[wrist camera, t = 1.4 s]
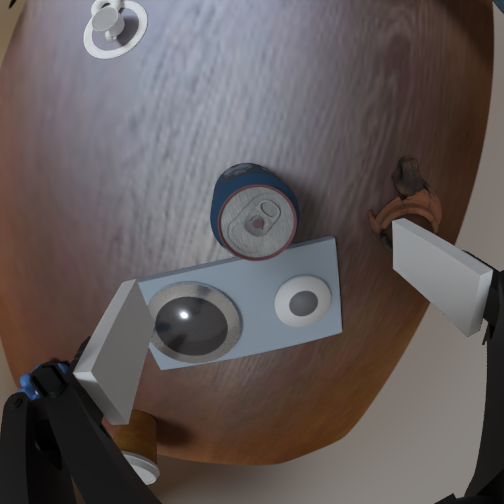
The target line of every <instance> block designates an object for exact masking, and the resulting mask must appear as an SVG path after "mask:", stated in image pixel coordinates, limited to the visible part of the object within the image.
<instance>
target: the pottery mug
mask: <svg viewBox="0 0 504 504" xmlns="http://www.w3.org/2000/svg"><path fill="white" fill-rule="evenodd" d="M392 178H393V179H394V180H395V184H396V188H397V190H398V191H399V192H400V193H401V194H402V195H404V196H408V197H407V198H406V199H405V200H402V199H401V198H400V197H397V198H395V199H394V200H393V201H391V202H390V203H389V204H387V205H386V206H385V208H384V209H383V210H381V211H380V213H379V214H378V215H377V217H376V218H375V217H374V215H373V213H372V211H371V210H369V211H368V218H369V222H370V225H371V227H372V231H373V233H374V234H375V235H376V236H377V237H378V239H379V240H380V242H381V243H382V245H383V246H384V247H385V249H386V250H388V251H389V252H390V253H393V244H392V243H391V242H390V241H389V240H388V239H387V237H386V234H385V233H384V232H383V229H387V227H388V226H389V224H390V223H391V222H392V221H393V220H394V219H396V218H397V217H399V216H402V215H405V214H408V213H409V214H418V215H421V216H423V217H425V218H426V219H428V220H429V222H430V223H431V226H432V233H433V234H434V235H436V236H438V225H439V223H440V222H441V219H442V208H441V204H440V200H439V198H438V196H437V194H436V193H435V191H434V190H433V189H432V188H431V187H430V186H429V185H428V183H427V182H425V181H424V180H423V179H422V178H421V175H420V171H419V166H418V161H417V159H416V158H414V157H412V156H410V155H405V156H403V157H402V158H401V159H400V160H399V163H398V168H397V170H396V172H394V173H393V174H392Z"/></svg>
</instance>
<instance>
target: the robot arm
mask: <svg viewBox="0 0 504 504" xmlns="http://www.w3.org/2000/svg"><path fill="white" fill-rule="evenodd" d="M492 1H493V2H494V3H495V4H496V6H497V7H498V8H499V9H500V10H501V12H502V13H504V0H492ZM392 228H393V269H394V270H395V271H396V272H398V273H399V274H400V275H401V276H402V277H403V278H404V279H406V280H407V281H408V282H409V283H410V284H411V285H412V286H413V287H415V288H416V289H417V290H418V291H419V292H420V293H421V294H422V295H423V296H425V297H426V298H427V299H428V300H429V301H430V302H431V303H432V304H433V305H434V306H436V308H438V309H439V310H440V311H441V312H442V313H443V314H444V315H445V316H446V317H447V318H448V319H449V320H450V321H451V322H452V323H453V324H454V325H455V326H456V327H457V328H458V329H460V330H461V332H462V333H464V334H465V335H466V336H467V337H469V336H471V335H473V334H474V333H476V332H478V331H480V328H481V324H482V321H483V318H484V319H485V320H487V321H488V326H487V329H486V333H485V336H484V339H483V343H482V345H484V344H485V341H487V385H486V402H485V412H484V413H485V414H484V421H483V430H482V437H481V443H480V449H479V455H478V460H477V465H476V469H475V473H474V476H473V478H472V480H471V482H470V484H469V486H468V488H467V490H466V492H465V495H464V497H461V498H457V499H456V497H455V495H454V494H451V495H449V496H447V497H446V498H444V499H442V500H440V501H438V502H437V503H435V504H504V270H503V271H501V272H499V271H498V270H496V269H495V268H493V267H492V266H490V265H488V264H487V263H485V262H484V261H481V260H480V259H479V258H477V257H475V256H474V255H472V254H471V253H469V252H467V251H464V250H461V249H459V248H457V247H455V246H453V245H452V244H450V243H448V242H447V241H445V240H443V239H441V238H440V237H438V236H436V235H434V234H433V233H431V232H429V231H427V230H425V229H423V228H422V227H420V226H418V225H416V224H414V223H412V222H410V221H409V220H407V219H405V218H402V219H398V220H394V221H392ZM154 326H155V324H154V321H153V319H152V317H151V314H150V312H149V309H148V307H147V305H146V302H145V300H144V297H143V295H142V292H141V290H140V287H139V285H138V282H137V280H136V279H134V280H130V281H125V282H123V283H122V284H121V286H120V288H119V289H118V291H117V293H116V294H115V296H114V298H113V299H112V301H111V303H110V305H109V306H108V308H107V310H106V312H105V313H104V315H103V317H102V319H101V320H100V322H99V324H98V326H97V328H96V329H95V331H94V333H93V335H92V336H89V337H88V338H87V339H86V340H85V341H84V342H83V343H82V344H81V346H80V348H79V350H78V351H77V354H76V355H75V357H74V360H73V361H72V363H71V364H70V366H69V368H68V370H67V372H66V374H64V373H63V371H62V370H61V368H60V367H59V365H58V364H57V363H56V362H53V361H50V362H46V363H43V364H41V365H40V366H38V367H37V368H36V369H35V370H34V371H33V372H32V374H31V376H30V381H29V382H30V383H31V385H32V386H33V387H34V389H35V390H36V391H37V393H38V394H39V395H40V397H41V398H38V399H35V400H31V399H30V398H29V397H28V395H27V394H26V393H25V392H17V393H15V394H12V395H11V397H9V398H8V400H7V401H6V403H5V405H4V409H3V416H2V424H1V433H0V504H77V503H76V498H75V494H74V489H73V484H72V480H71V476H72V478H73V480H74V482H75V484H76V486H77V488H78V490H79V492H80V494H81V496H82V498H83V500H84V501H85V503H86V504H162V503H161V502H160V501H159V500H158V499H157V498H156V496H155V495H154V494H153V493H152V492H151V490H150V489H149V488H148V487H147V485H146V484H145V483H144V482H143V480H142V479H141V478H140V477H139V475H138V474H137V473H136V471H135V470H134V469H133V467H132V466H131V465H130V463H129V462H128V461H127V459H126V458H125V457H124V455H123V454H122V452H121V451H120V449H119V448H118V446H117V445H116V444H115V442H114V441H113V439H112V437H111V436H110V434H109V433H108V431H107V430H106V428H105V427H104V426H103V425H102V423H101V422H102V418H103V415H104V416H105V418H106V419H107V420H108V421H109V423H110V424H111V425H123V424H129V419H130V415H131V411H132V407H133V403H134V399H135V395H136V391H137V387H138V383H139V379H140V376H141V372H142V368H143V364H144V361H145V357H146V354H147V350H148V347H149V343H150V340H151V336H152V333H153V330H154Z"/></svg>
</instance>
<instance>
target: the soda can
mask: <svg viewBox="0 0 504 504" xmlns="http://www.w3.org/2000/svg"><path fill="white" fill-rule="evenodd" d="M210 221H211V227H212V231H213V233H214V236H215V238H216V239H217V241H218V242H219V243H220V245H221V246H222V247H223V248H224V249H225V250H227V251H228V252H230V253H231V254H233V255H235V256H237V257H240V258H242V259H245V260H249V261H263V260H268V259H271V258H273V257H276V256H277V255H279V254H280V253H282V252H283V251H284V250H285V249H286V248H287V247H288V246H289V244H290V243H291V241H292V240H293V238H294V235H295V233H296V231H297V228H298V224H299V207H298V203H297V200H296V198H295V196H294V194H293V192H292V191H291V190H290V188H289V187H288V186H287V185H286V184H285V183H283V182H282V181H281V180H280V179H278V178H277V177H276V176H274V175H273V174H272V173H271V172H269V171H268V170H267V169H265V168H264V167H262V166H259V165H257V164H252V163H242V164H238V165H235V166H232V167H230V168H229V169H227V170H226V171H225V172H224V173H223V174H222V175H221V176H220V177H219V179H218V181H217V183H216V185H215V188H214V194H213V200H212V207H211V213H210Z"/></svg>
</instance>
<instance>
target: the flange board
mask: <svg viewBox="0 0 504 504" xmlns="http://www.w3.org/2000/svg"><path fill="white" fill-rule="evenodd" d="M136 280H137V282H138V285H139V287H140V290H141V292H142V295H143V297H144V300H145V302H146V305H147V306H148V303H149V301H150V300H151V298H152V297H153V296H154V294H155V293H156V292H158V291H159V290H160V289H162V288H163V287H165V286H167V285H170V284H172V283H176V282H182V281H196V282H201V283H205V284H208V285H211V286H213V287H215V288H217V289H219V290H220V291H222V292H223V293H224V294H226V295H227V296H228V297H229V298H230V299H231V301H232V302H233V303H234V305H235V307H236V309H237V311H238V314H239V320H240V333H239V337H238V340H237V342H236V344H235V345H234V347H233V348H232V349H231V350H230V351H229V352H228V353H227V354H225V355H224V356H222V357H221V358H218V359H216V360H214V361H211V362H216V361H222V360H227V359H232V358H238V357H243V356H248V355H252V354H257V353H262V352H266V351H271V350H275V349H280V348H284V347H288V346H292V345H296V344H300V343H304V342H308V341H312V340H316V339H320V338H323V337H327V336H331V335H334V334H338V333H341V332H342V325H341V305H340V290H339V276H338V264H337V253H336V243H335V238H334V237H333V236H332V235H331V236H326V237H322V238H317V239H313V240H309V241H304V242H300V243H295V244H291V245H289V246H288V247H287V248H286V249H285V250H284V251H283V252H282V253H280V254H279V255H277V256H276V257H273V258H271V259H268V260H263V261H249V260H245V259H242V258H240V257H233V258H228V259H224V260H219V261H215V262H211V263H206V264H202V265H197V266H193V267H188V268H184V269H179V270H175V271H170V272H166V273H161V274H157V275H152V276H148V277H143V278H139V279H136ZM149 348H150V350H151V352H152V354H153V356H154V358H155V360H156V362H157V363H158V365H159V367H160V369H161V370H165V369H172V368H179V367H186V366H192V365H199V364H205V363H185V362H181V361H177V360H174V359H172V358H170V357H168V356H166V355H164V354H163V353H161V352H160V351H159V350H158V349H157V348H156V347H155V346H154V345H153V344H152V343H151V341H150V343H149ZM211 362H206V363H211Z"/></svg>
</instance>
